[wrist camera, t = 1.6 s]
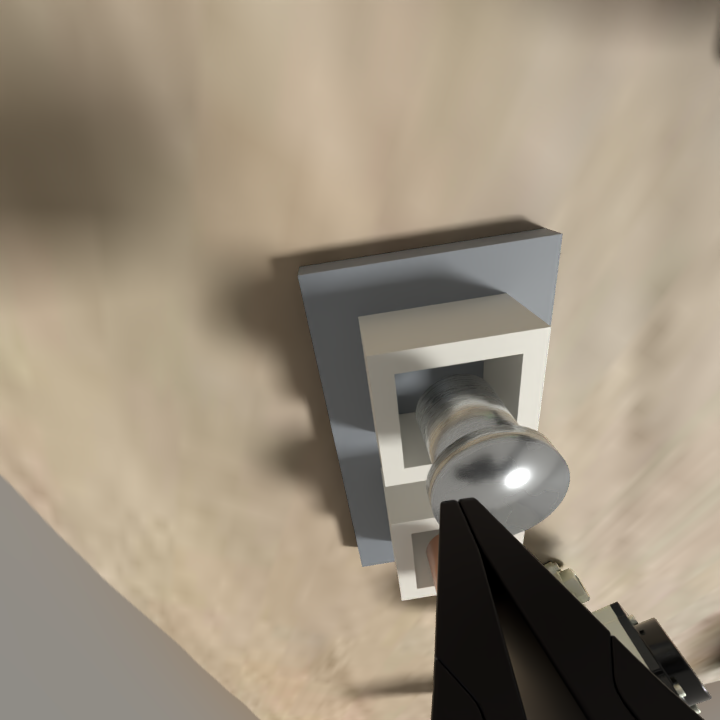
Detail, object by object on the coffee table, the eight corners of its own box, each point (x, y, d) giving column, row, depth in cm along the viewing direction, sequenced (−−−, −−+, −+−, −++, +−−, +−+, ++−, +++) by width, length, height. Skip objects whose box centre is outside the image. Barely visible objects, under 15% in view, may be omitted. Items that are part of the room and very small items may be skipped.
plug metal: (510, 355, 15) (580, 430, 11) (503, 439, 18) (560, 528, 13) (400, 372, 15) (428, 455, 11) (408, 455, 18) (434, 549, 13)
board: (545, 228, 18) (626, 254, 13) (513, 522, 29) (552, 596, 24) (299, 267, 18) (290, 307, 13) (360, 547, 29) (367, 627, 24)
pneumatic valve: (612, 558, 32) (752, 752, 22) (495, 613, 35) (568, 808, 24) (590, 528, 30) (734, 730, 19) (466, 589, 33) (533, 794, 22)
